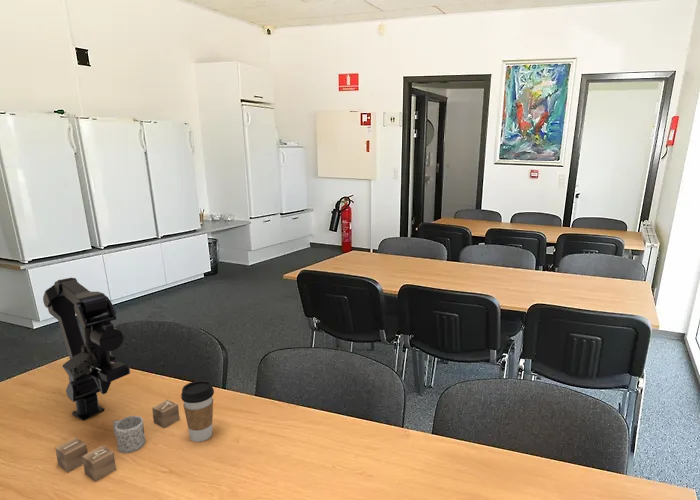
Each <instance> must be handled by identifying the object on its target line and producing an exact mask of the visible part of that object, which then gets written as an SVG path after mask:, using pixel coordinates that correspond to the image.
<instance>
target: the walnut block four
mask: <svg viewBox="0 0 700 500" xmlns="http://www.w3.org/2000/svg"><path fill="white" fill-rule="evenodd" d="M82 457H83V471H84V474H85V475H86V476H87V477H88V478H90V479H91V480H92V481H93V482H99V481H100V480H102V479H103V478H106V476H109V475H110V474H111V473H113V472H115V471H117V463H116V458H115V457H116V456H115V452H114V451H113V450H111V449H110V448H108V447H107V446H105V445H104V444H103V445H101V446H99V447H97V448H95V449H93V450H90V451H89V452H88V453H87V454H86V455H84V456H82Z"/></svg>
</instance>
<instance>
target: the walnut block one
mask: <svg viewBox="0 0 700 500" xmlns="http://www.w3.org/2000/svg"><path fill="white" fill-rule="evenodd" d="M87 445H88V444H87V443H86V442H84V441H82V440H81V439H79V438H78V437H74V438H72V439H71V440H68V441H67V442H64V443H62V444H60V445H58V446H56V447H55V453H56V454H55V455H56V461H57V466H58V467H60V468H61V469H62V470H64V471H65V472H66V473H70V472H72V471H75V470H76V469H77V468H79V467H81V466H84V464H83V457H82V456H84V455H86V454H87V453H89V452H88V447H87Z"/></svg>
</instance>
